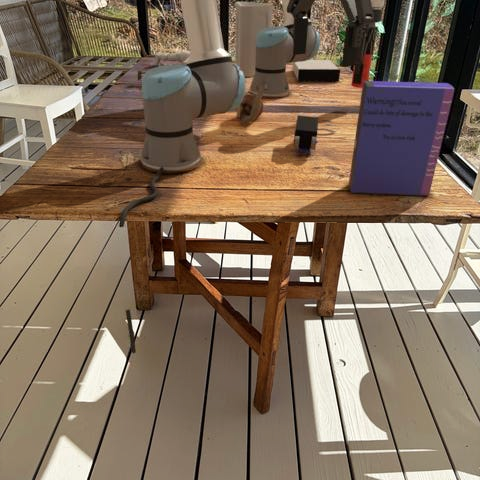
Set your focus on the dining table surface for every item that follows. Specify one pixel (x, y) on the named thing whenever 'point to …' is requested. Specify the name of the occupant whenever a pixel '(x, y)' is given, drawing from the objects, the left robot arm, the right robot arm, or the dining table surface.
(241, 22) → the tall cream pillar
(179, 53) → the toy
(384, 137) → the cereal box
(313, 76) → the disc drive
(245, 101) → the brown lumpy shape
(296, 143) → the figurine character
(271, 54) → the right robot arm
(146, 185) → the dining table surface
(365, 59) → the can
